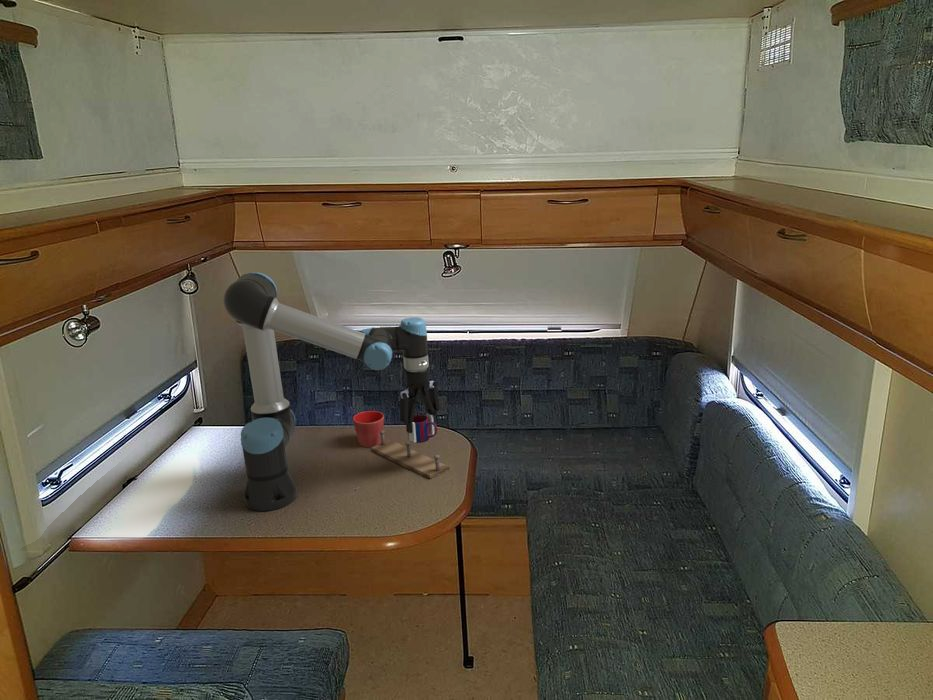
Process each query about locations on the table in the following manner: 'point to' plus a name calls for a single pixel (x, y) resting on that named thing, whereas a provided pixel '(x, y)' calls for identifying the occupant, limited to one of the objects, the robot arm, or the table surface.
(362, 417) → the flower pot
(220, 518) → the table surface
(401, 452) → the rail
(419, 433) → the mug
